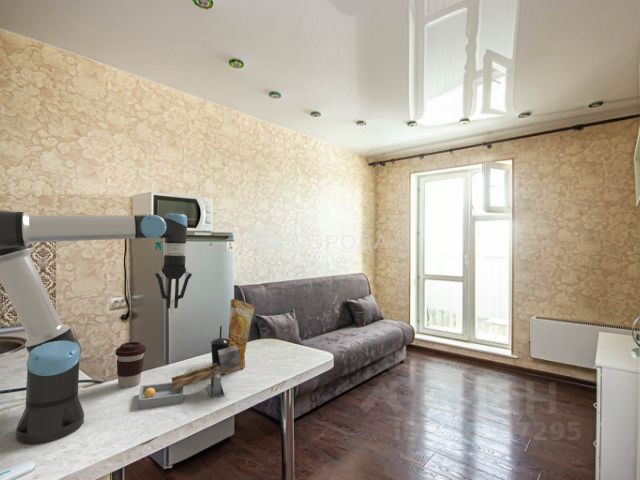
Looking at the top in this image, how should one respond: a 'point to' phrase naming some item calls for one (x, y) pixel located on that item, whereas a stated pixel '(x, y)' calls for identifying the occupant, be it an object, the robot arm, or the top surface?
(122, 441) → the top surface
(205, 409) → the top surface
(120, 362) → the coffee cup
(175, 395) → the dish
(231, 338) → the pancake mix bag
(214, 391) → the stand
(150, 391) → the ball
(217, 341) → the drinking cup
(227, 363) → the lever
